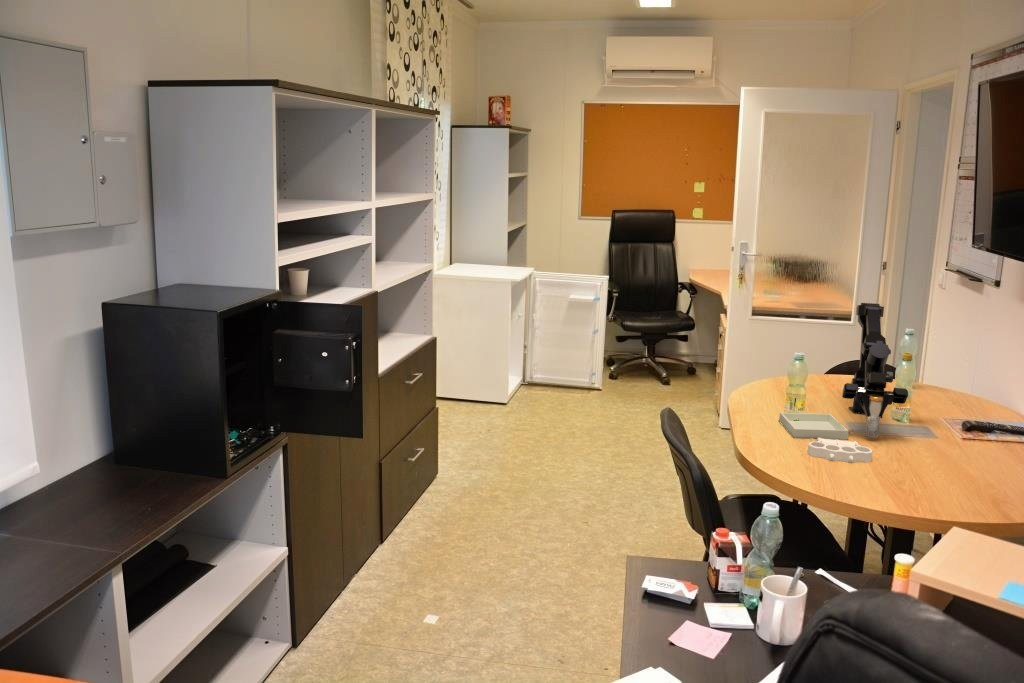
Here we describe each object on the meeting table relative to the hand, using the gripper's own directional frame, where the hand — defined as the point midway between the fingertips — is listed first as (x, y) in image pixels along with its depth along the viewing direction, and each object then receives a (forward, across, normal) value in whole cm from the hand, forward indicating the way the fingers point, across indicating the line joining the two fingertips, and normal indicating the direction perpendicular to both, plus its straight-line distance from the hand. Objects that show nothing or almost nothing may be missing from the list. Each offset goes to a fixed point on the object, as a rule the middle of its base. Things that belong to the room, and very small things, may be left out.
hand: (874, 416), depth 256 cm
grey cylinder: (+4, 0, +6) cm, 7 cm away
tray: (+2, -18, +9) cm, 20 cm away
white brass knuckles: (+18, -11, -5) cm, 21 cm away
